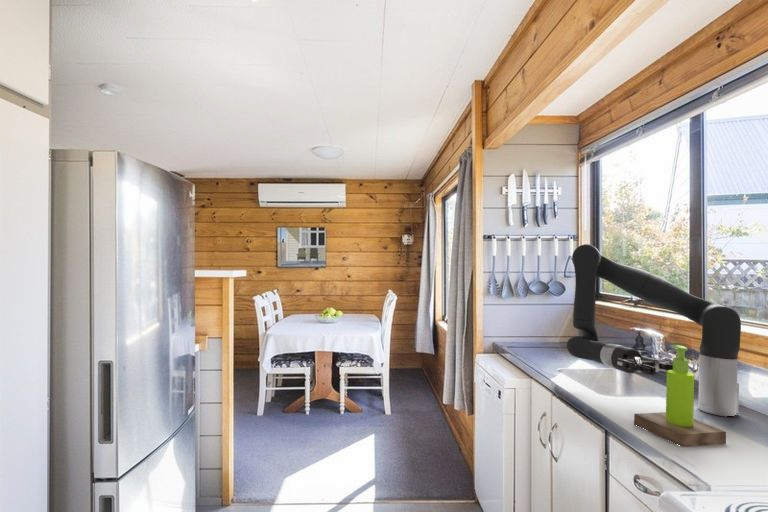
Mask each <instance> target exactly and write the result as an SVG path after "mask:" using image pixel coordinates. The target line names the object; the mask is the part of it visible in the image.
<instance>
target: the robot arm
mask: <svg viewBox="0 0 768 512" xmlns="http://www.w3.org/2000/svg"><path fill="white" fill-rule="evenodd" d="M571 259H572V264H573V267H574V275H575V287H574V290H575V291H574V299H573V301H574V302H573V311H572V312H573V313H572V324H573V328H575V329H576V330H578V331H581V333H582V336H578V335H577V336H571V337H570V338H569V339H568V340H567V342H566V350H567V352H568V353H569V354H570V355H571V356H573V357H575V358H578V359H583V360H587V361H593V362H597V363H599V364H602V365H604V366H607V367H609V368H612V369H614V370H617V371H621V372H624V373H626V374H635V373H638V374H639V373H644V374H647V375H650V376H656V372H664V373H665V372H666V373H667V370H673V361H672V362H671V361H667V360H664V359H660V358H656V357H652V358H650V357H648V356H643V355H641V353H640V351H638V350H637V349H635V348H633V347H628V346H624V345H620V344H616V343H615V344H614V343H610V342H605V341H600V339H599V336H598V332H597V328H596V278H600V279H602V280H605V281H607V282H609V283H610V284H613V285H614V286H615V287H617V288H619V289H621V290H623V291H625V292H626V293H629V294H630V295H632V296H634V297H636V298H638V299H640V300H642V301H644V302H646V303H649V304H650V305H653V306H656V307H659V308H662V309H665V310H668V311H671V312H675V313H676V314H679V315H681V316H683V317H685V318H686V319H689V320H690V321H693V322H694V323H696V324H697V325H699V326H701V328H702V329H701V331H702V332H701V342H700V345H699V361H698V362H699V364H698V365H699V368H698V370H699V371H698V400H697V401H698V402H697V403H698V404H697V408H698V410H700V411H703V412H704V413H708V414H711V415H715V416H721V417H727V416H734V415H736V416H737V414H736V413H738V414H739V400H740V399H739V396H740V395H739V393H740V384H739V383H738V358H739V357H738V356H739V351H740V348H741V333H742V331H741V330H742V322H741V318H740V315H739V314H738V312H737V311H736V310H735V309H733V308H732V307H729V306H726V305H722V304H720V303H719V304H718V303H715V302H711V301H709V300H707V299H704V298H700V297H698V296H697V295H696V296H695V295H694V294H691V293H689V292H687V291H685V290H683V288H680V287H679V286H677V285H675V284H674V283H673V282H670V281H668V280H666V279H664V278H663V277H660V276H659V275H656V274H653V273H652V272H649V271H647V270H644V269H640V268H638V267H633V266H629V265H625V264H622V263H619V262H616V261H614V260H612V259H611V258H608V257H606V256H604V255H603V254H601V252H600V251H599V249H598V248H597V247H596V246H594V245H593V244H588V243H587V244H581V245H579V246H577V247H576V248H575V249H574V250H573V252H572V256H571ZM734 417H735V416H734Z"/></svg>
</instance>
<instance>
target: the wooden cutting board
mask: <svg viewBox="0 0 768 512" xmlns="http://www.w3.org/2000/svg"><path fill="white" fill-rule="evenodd" d="M633 425H634V426H636V425H637V426H636V427H638V426H639V427H638V428H640V427H641V428H640V429H642V428H644V429H646V430H648V431H647V432H649V433H651V434H653V435H655V436H656V437H659V436H660V437H659V438H661V437H662V439H663V438H664V440H666V441H668V440H669V441H668V442H670V441H671V442H670V443H672V442H673V443H672V444H674V443H675V444H674V445H676V444H678V445H680V446H686V447H696V446H698V445H699V447H700V446H712V445H725V444H727V431H725V430H723V429H722V428H721V429H720V428H718V427H717V426H716V427H715V426H713V425H711V424H708V423H705V422H702V421H701V420H700V421H699V420H697V419H694V418H693V426H692V427H684V426H678V425H674V424H671V423H669V422H667V421H666V411H665V412H664V411H662V412H645V413H644V412H642V413H641V412H640V413H634V415H633ZM644 429H643V430H644ZM646 430H645V431H646ZM678 445H677V446H678ZM680 446H679V447H680Z"/></svg>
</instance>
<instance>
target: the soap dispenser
mask: <svg viewBox="0 0 768 512" xmlns="http://www.w3.org/2000/svg"><path fill="white" fill-rule="evenodd" d="M669 345H670V344H669ZM670 348H675V349H676V356H675V357H673V358H672V365H673V370H667V372H666V389H665V390H666V394H665V395H666V397H665V398H666V399H665V400H666V401H665V412H666V421H667V422H669V423H671V424H674V425H678V426H684V427H692V426H693V419H694V411H695V410H694V408H695V405H694V403H695V402H694V401H695V374H694V373H693V372H690V371H689V364H690V363H689V359H687V358H686V356H685V355H686V351H688V350H689V348H687V347H685V346H684V345H681V344H680V345H679V344H671V345H670Z"/></svg>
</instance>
